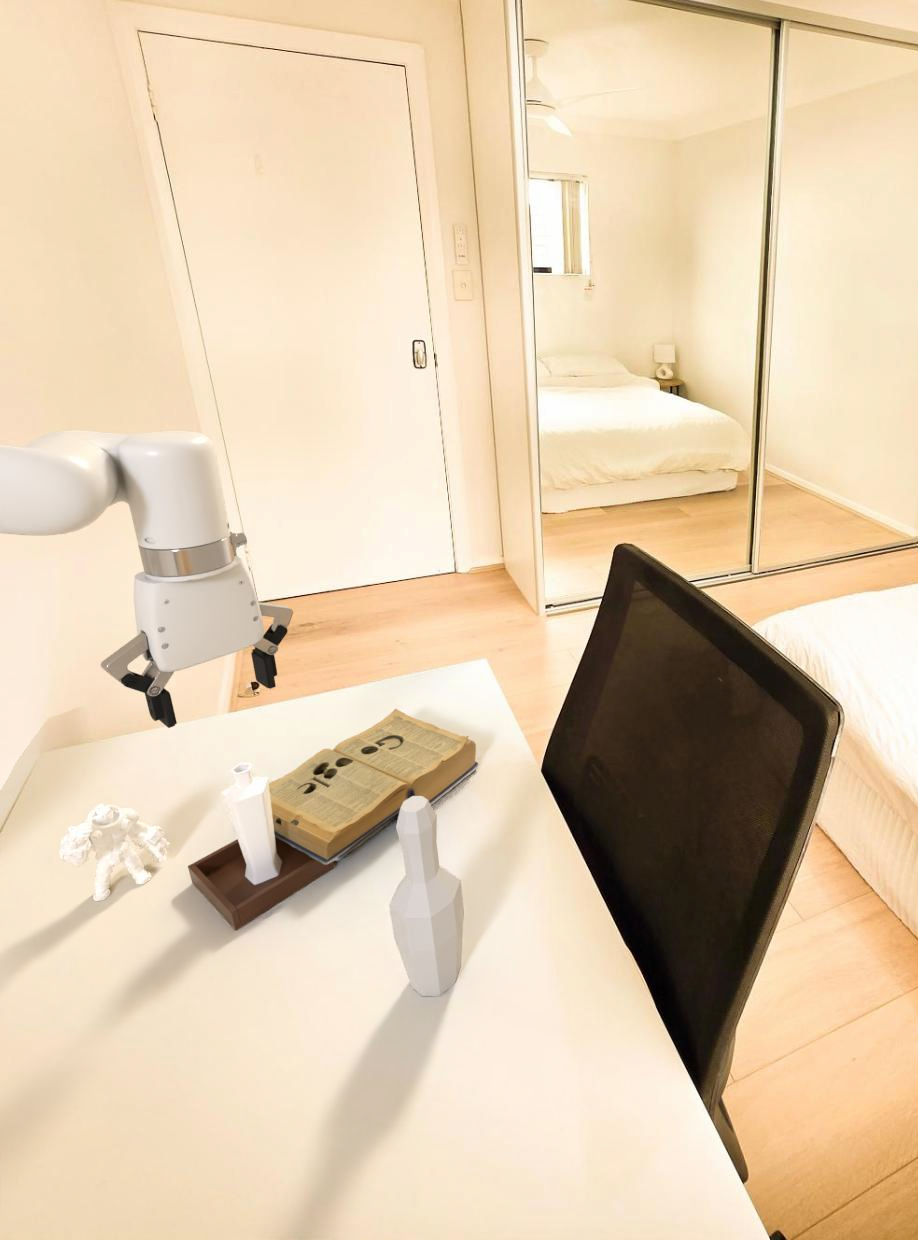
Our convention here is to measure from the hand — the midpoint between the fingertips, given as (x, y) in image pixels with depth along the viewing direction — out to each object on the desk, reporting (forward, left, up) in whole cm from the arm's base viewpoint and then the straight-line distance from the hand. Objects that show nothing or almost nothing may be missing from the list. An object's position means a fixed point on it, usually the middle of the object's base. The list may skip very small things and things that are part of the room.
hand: (219, 702), depth 75 cm
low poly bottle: (+5, -28, -25) cm, 38 cm away
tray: (+1, 0, -25) cm, 25 cm away
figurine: (-9, +11, -25) cm, 29 cm away
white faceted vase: (0, 0, -24) cm, 24 cm away
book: (+16, +2, -24) cm, 29 cm away
